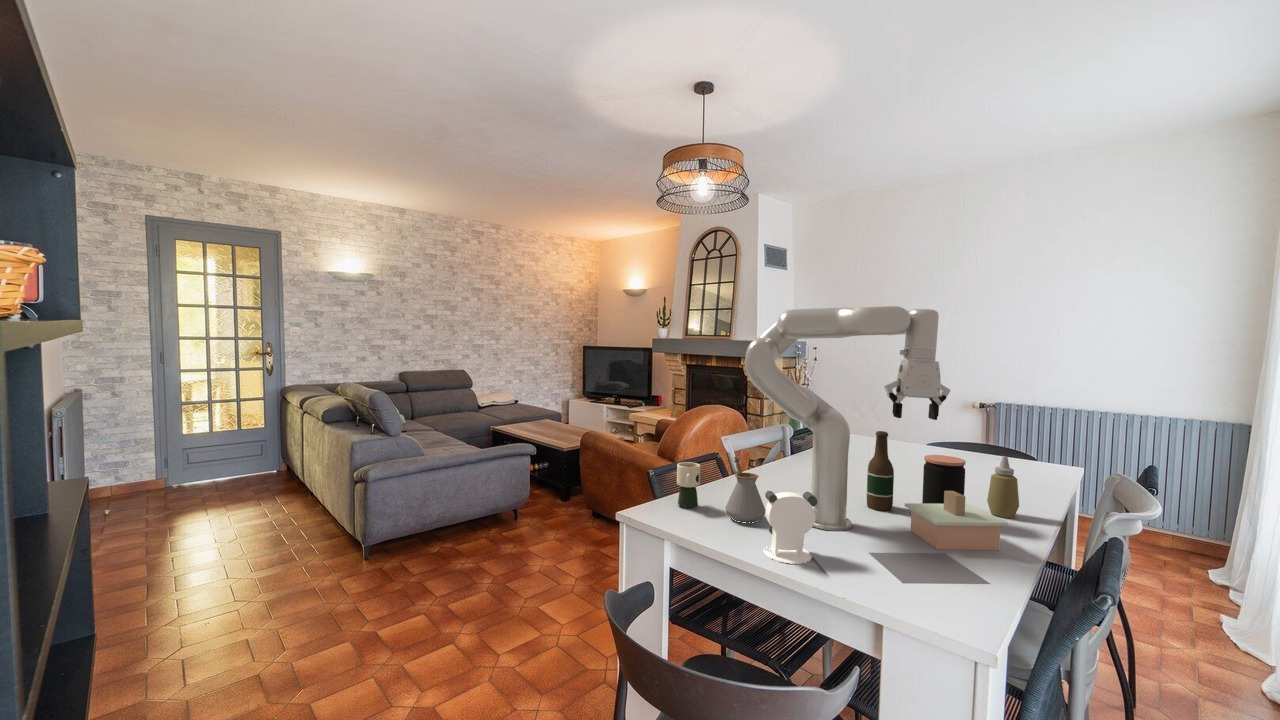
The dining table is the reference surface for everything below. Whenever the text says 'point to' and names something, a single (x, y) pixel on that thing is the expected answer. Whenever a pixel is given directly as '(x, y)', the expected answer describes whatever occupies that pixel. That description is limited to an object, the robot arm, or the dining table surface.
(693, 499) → the character mug
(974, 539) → the wooden cubby box
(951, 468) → the coffee jar
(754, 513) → the coffee pot
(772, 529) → the panda figurine
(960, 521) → the lid
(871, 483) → the beer bottle
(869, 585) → the dining table surface
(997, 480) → the squeeze bottle
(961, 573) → the mat
